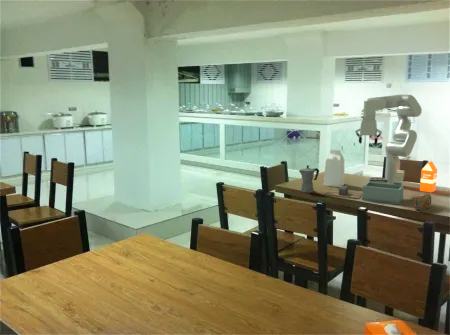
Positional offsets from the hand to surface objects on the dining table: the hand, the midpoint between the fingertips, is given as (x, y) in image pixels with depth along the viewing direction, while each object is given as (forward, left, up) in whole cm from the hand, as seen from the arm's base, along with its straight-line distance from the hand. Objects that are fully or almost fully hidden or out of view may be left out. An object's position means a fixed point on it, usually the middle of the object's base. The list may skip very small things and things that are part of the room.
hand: (367, 143), depth 279 cm
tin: (+25, +38, -33) cm, 56 cm away
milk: (-11, -25, -33) cm, 43 cm away
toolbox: (+13, +14, -33) cm, 38 cm away
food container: (-2, +7, -33) cm, 34 cm away
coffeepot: (+16, -35, -33) cm, 51 cm away
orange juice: (-25, +36, -33) cm, 55 cm away
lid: (+15, -11, -34) cm, 38 cm away
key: (-1, +21, -23) cm, 31 cm away
